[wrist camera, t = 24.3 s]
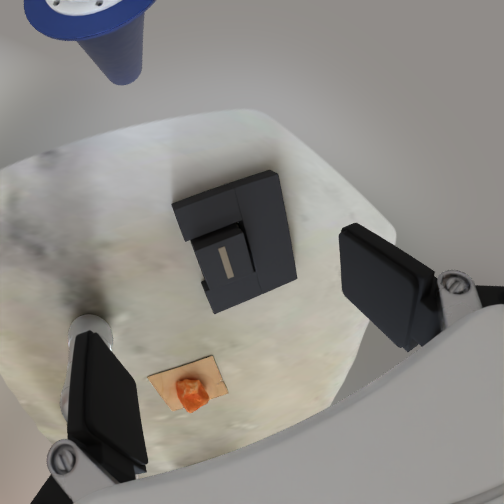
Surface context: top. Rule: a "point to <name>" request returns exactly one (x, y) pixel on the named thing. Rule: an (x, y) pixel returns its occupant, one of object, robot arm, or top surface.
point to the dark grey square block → (223, 256)
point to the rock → (190, 385)
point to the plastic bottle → (76, 328)
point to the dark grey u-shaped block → (255, 232)
